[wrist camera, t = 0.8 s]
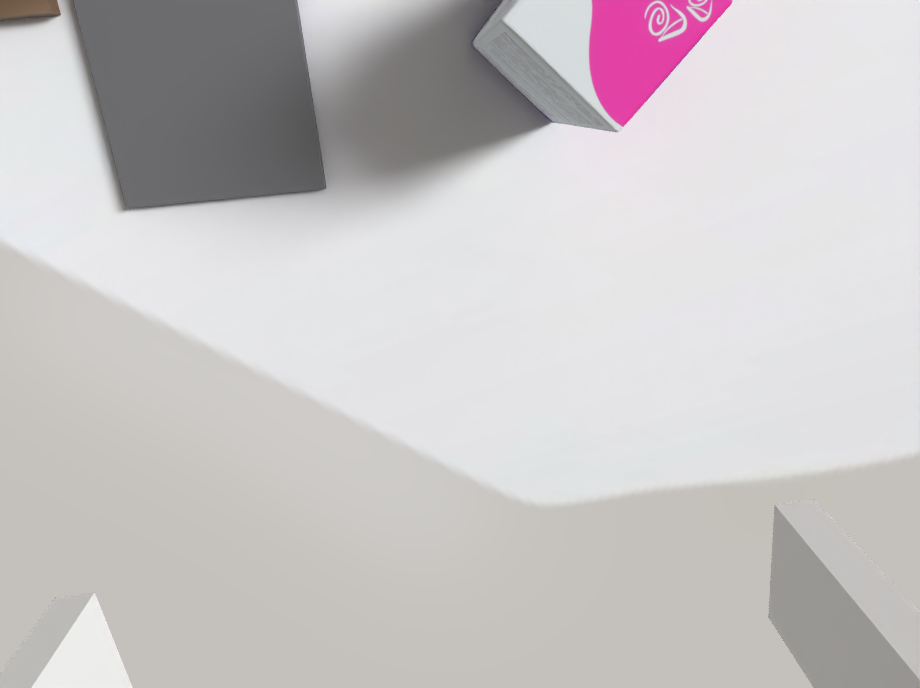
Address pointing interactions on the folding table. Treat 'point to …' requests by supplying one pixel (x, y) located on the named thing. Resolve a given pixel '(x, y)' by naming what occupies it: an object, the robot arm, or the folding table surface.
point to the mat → (203, 97)
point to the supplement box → (592, 52)
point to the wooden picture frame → (27, 9)
